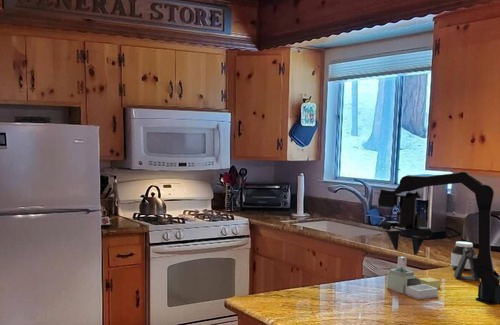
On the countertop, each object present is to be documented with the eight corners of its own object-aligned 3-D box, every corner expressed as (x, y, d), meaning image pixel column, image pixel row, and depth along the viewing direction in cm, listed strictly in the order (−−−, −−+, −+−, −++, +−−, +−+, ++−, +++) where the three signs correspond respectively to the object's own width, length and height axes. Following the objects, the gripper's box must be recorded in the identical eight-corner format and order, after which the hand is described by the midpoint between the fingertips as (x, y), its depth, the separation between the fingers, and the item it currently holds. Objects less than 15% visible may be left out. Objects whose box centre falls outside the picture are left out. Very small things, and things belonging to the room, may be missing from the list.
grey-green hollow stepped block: (420, 291, 181) (421, 272, 181) (402, 293, 177) (403, 273, 177) (404, 285, 188) (405, 267, 188) (386, 287, 184) (387, 268, 184)
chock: (439, 288, 187) (440, 280, 187) (427, 289, 185) (428, 281, 184) (429, 285, 192) (430, 277, 192) (417, 286, 189) (418, 278, 189)
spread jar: (461, 272, 214) (462, 244, 214) (441, 266, 224) (442, 240, 224) (481, 270, 219) (483, 243, 219) (461, 264, 229) (462, 239, 229)
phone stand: (455, 279, 201) (457, 249, 201) (453, 275, 207) (455, 246, 207) (480, 281, 199) (481, 251, 199) (477, 277, 205) (478, 248, 204)
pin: (407, 274, 181) (408, 258, 181) (401, 275, 180) (401, 258, 180) (401, 272, 184) (402, 256, 184) (395, 273, 183) (396, 256, 183)
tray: (437, 297, 174) (438, 288, 174) (418, 299, 171) (418, 290, 170) (424, 292, 180) (425, 284, 180) (405, 294, 176) (405, 286, 176)
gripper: (443, 212, 180) (441, 255, 180) (403, 206, 196) (401, 246, 196) (422, 213, 174) (420, 258, 174) (382, 206, 190) (380, 247, 191)
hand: (405, 252), depth 184 cm, fingers open, 9 cm apart
